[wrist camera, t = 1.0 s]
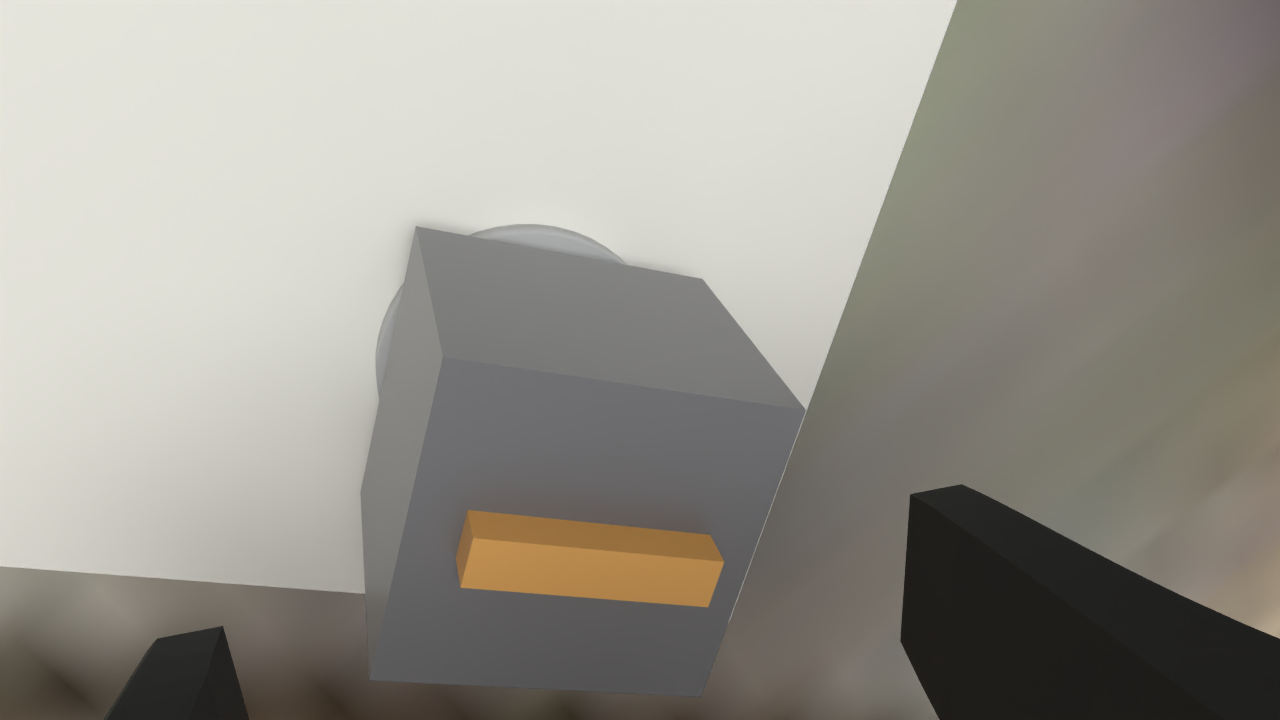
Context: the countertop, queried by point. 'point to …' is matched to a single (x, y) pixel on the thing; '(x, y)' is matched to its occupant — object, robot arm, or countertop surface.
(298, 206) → the mount board
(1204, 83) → the countertop surface
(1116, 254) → the countertop surface
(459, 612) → the gray handled box
